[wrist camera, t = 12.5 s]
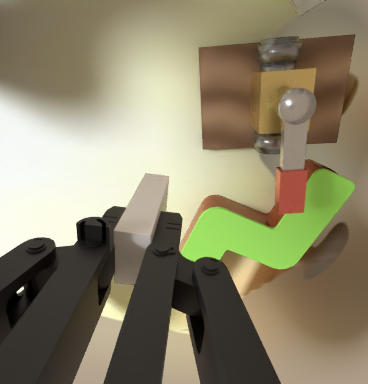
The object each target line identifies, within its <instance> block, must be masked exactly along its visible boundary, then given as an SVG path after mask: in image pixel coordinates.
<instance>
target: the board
mask: <svg viewBox="0 0 368 384" xmlns="http://www.w3.org/2000/svg"><path fill="white" fill-rule="evenodd" d="M354 39H355V34H354V35H343V36H331V37H319V38H309V39H308V38H307V39H299V41H302V48H301V58H300V60H297V64H296V69H305V68H317V69H316V77H315V85H314V93H313V94H314V96H315V98H316V109H315V112H314V114H313V115H312V117H311V118H310V125H309V131H307V141H306V144H318V143H336V142H337V137H338V132H339V126H340V120H341V114H342V109H343V103H344V97H345V91H346V85H347V80H348V74H349V68H350V62H351V56H352V51H353V45H354ZM258 45H261V42H260V43H248V44H237V45H225V46H213V47H201V48H199V66H200V90H201V115H202V139H203V149H222V148H242V147H254V132H256V131H255V130H254V129H253V128H252V126H251V125H250V124H249V115H250V84H251V72H260V64H257V50H258Z"/></svg>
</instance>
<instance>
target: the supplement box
mask: <svg viewBox="0 0 368 384" xmlns="http://www.w3.org/2000/svg"><path fill="white" fill-rule="evenodd" d="M289 1H290V3H291V5H292V6H293V8H294V10H295V11H296V13H297V14H298V16H301V15H303V14H304V13H306V12H308V11H309V10H311V9H312V8H314V7H316V6H317V5H319V4H320V3H322V2H324V1H325V0H289Z"/></svg>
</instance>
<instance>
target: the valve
mask: <svg viewBox="0 0 368 384" xmlns="http://www.w3.org/2000/svg"><path fill="white" fill-rule="evenodd" d="M301 48H302V41H299V37H280V38H272V39H266V40H262V41H261V45H258V50H257V64H260V72H251V84H250V115H249V124H250V125H251V126H252V128H253V129H254V130H255V131H256V132H254V148H255V149H256V151H257V152H259V153H263V154H280V147H281V124H282V119H281V118H280V117H279V116H278V114H277V111H276V104H277V101H278V99H279V97H280V96H281V94H282V93H283V92H285V91H286V90H288V89H290V88H304V89H307V90H311V92H312V93H314V85H315V77H316V69H317V68H305V69H296V64H297V60H300V58H301ZM309 125H310V119H309V120H308V129H307V131H309Z"/></svg>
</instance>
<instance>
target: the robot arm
mask: <svg viewBox="0 0 368 384" xmlns="http://www.w3.org/2000/svg"><path fill="white" fill-rule="evenodd" d="M168 184H169V176H163V175H155V174H147V173H145V175H144V177H143V179H142V181H141V182H140V184H139V186H138V188H137V190H136V191H135V193H134V195H133V197H132V199H131V200H130V202H129V204H128V206H127V208H125V207H117V206H113V207H112V208H110V209H108V210H107V211H106V212H105V214H104V215H103V217H102V218H101V217H88V218H84V219H82V220H80V221H79V222H77V223H76V226H77V239H78V241H77V242H76V243H75V245H72V246H63V247H56V246H55V242H54V241H53V240H51V239H50V238H44V237H42V238H34V239H30V240H28V241H26V242H24V243H22V244H20V245H19V246H17V247H16V248H14V249H13V250H11V251H10V252H8V253H6V254H5V255H3V256H2V257H0V384H72V383H73V381H74V379H75V376H76V374H77V371H78V369H79V366H80V364H81V362H82V359H83V357H84V354H85V352H86V349H87V347H88V345H89V342H90V340H91V337H92V334H93V332H94V330H95V327H96V325H97V323H98V320H99V318H100V315H101V313H102V311H103V308H104V306H105V303H106V301H107V298H108V296H109V294H110V290H111V280H112V277H113V275H114V282H115V283H123V284H131V285H135V286H134V289H133V292H132V295H131V298H130V301H129V305H128V308H127V311H126V314H125V317H124V320H123V324H122V327H121V330H120V333H119V336H118V339H117V343H116V346H115V349H114V352H113V355H112V358H111V361H110V365H109V368H108V371H107V374H106V377H105V380H104V384H162V377H163V370H164V361H165V354H166V346H167V339H168V331H169V323H170V316H171V309H172V308H174V309H176V310H178V311H181V312H183V313H185V314H186V318H187V323H188V328H189V332H190V337H191V342H192V346H193V351H194V356H195V360H196V365H197V369H198V374H199V379H200V384H281V383H280V381H279V378H278V376H277V374H276V372H275V370H274V368H273V365H272V363H271V361H270V359H269V357H268V355H267V353H266V350H265V348H264V346H263V344H262V342H261V340H260V338H259V335H258V333H257V331H256V329H255V327H254V325H253V323H252V320H251V319H250V316H249V314H248V312H247V310H246V308H245V305H244V303H243V301H242V299H241V297H240V295H239V293H238V290H237V288H236V286H235V284H234V282H233V280H232V278H231V275H230V273H229V271H228V269H227V267H226V266H225V264H224V263H223V262H221V261H220V260H218V259H216V258H213V257H202V258H199V259H197V260H196V261H195V262H194V261H191V260H189V259H187V258H185V257H184V256H183V255H182V254H181V253H180V251H179V244H180V236H181V228H182V217H181V215H180V214H179V213H172V212H166V207H167V195H168ZM23 286H24V290H23V291H22V292H20V293H18V294H17V291H18V290H19V289H20V288H21V287H23Z"/></svg>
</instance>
